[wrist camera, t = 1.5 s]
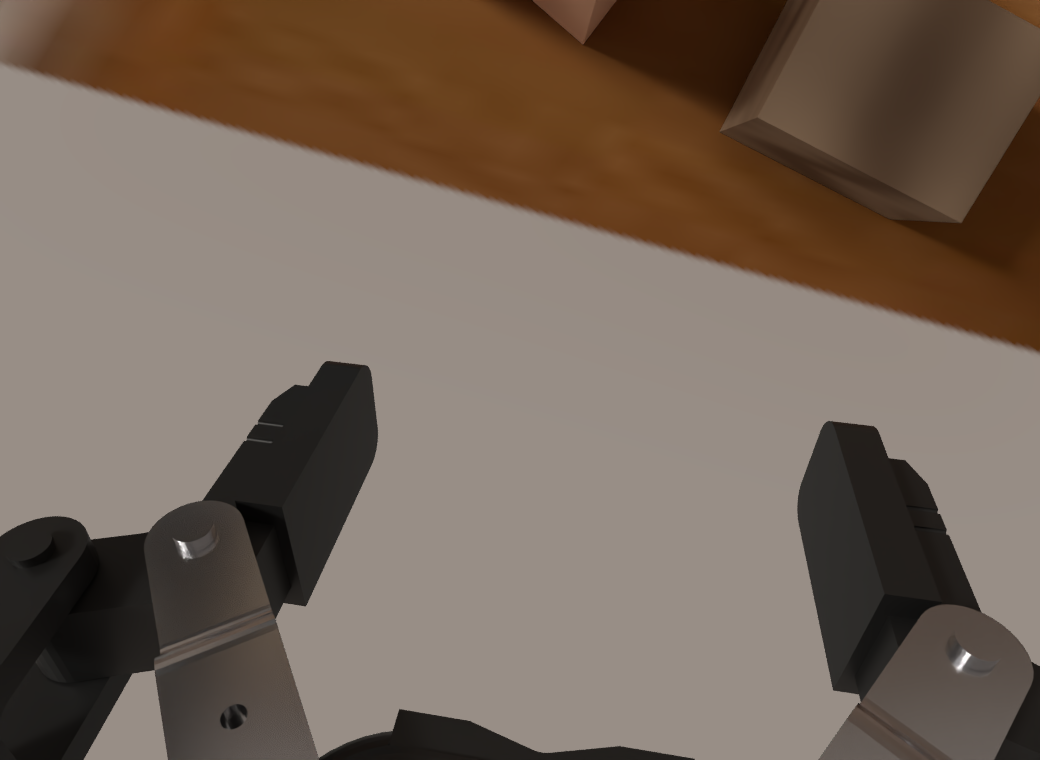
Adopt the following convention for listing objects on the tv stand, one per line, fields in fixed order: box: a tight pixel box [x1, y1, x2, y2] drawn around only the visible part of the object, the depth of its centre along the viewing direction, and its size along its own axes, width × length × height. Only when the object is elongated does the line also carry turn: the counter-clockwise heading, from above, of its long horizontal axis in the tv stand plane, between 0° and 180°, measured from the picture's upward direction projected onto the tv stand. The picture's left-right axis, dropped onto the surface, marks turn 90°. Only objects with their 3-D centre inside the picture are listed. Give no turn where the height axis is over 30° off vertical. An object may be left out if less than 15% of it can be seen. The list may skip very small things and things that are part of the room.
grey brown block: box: [720, 0, 1040, 223], centre depth 30 cm, size 9×7×6 cm
